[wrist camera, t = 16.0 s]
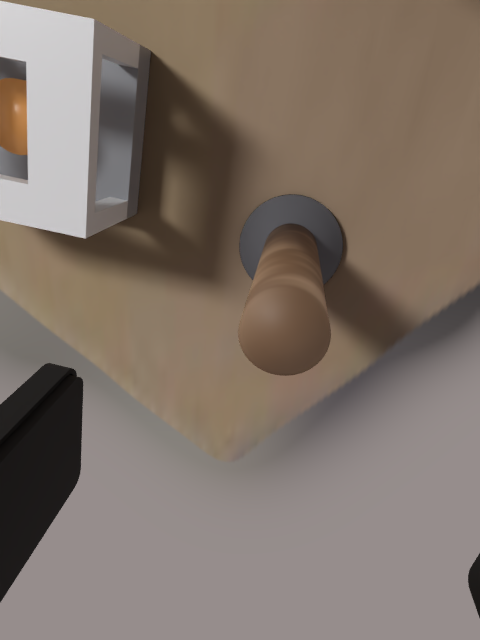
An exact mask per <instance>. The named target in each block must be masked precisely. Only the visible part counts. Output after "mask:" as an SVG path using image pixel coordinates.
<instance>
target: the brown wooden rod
mask: <svg viewBox="0 0 480 640" xmlns="http://www.w3.org/2000/svg"><path fill="white" fill-rule="evenodd" d="M238 337H239V343H240V346H241V348H242V350H243V352H244V354H245V355H246V357H247V358H248V359H249V360H250V361H251V362H252V363H253V364H254V365H255V366H257V367H258V368H260V369H261V370H263V371H266V372H268V373H271V374H275V375H285V376H286V375H295V374H299V373H303V372H305V371H307V370H309V369H311V368H312V367H314V366H315V365H316V364H318V363H319V361H320V360H321V359H322V358H323V357H324V355H325V354H326V352H327V350H328V347H329V344H330V338H331V330H330V323H329V317H328V311H327V305H326V298H325V292H324V286H323V280H322V274H321V267H320V261H319V255H318V249H317V243H316V240H315V238H314V236H313V234H312V233H311V232H310V231H309V230H308V229H307V228H305V227H304V226H301V225H299V224H294V223H289V224H283V225H281V226H278V227H277V228H275V229H274V230H273V231H272V232H271V233H270V234H269V235H268V237H267V239H266V242H265V245H264V248H263V251H262V254H261V257H260V260H259V263H258V267H257V270H256V273H255V276H254V279H253V282H252V285H251V289H250V292H249V295H248V298H247V301H246V304H245V307H244V310H243V314H242V317H241V320H240V323H239V329H238Z"/></svg>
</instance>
